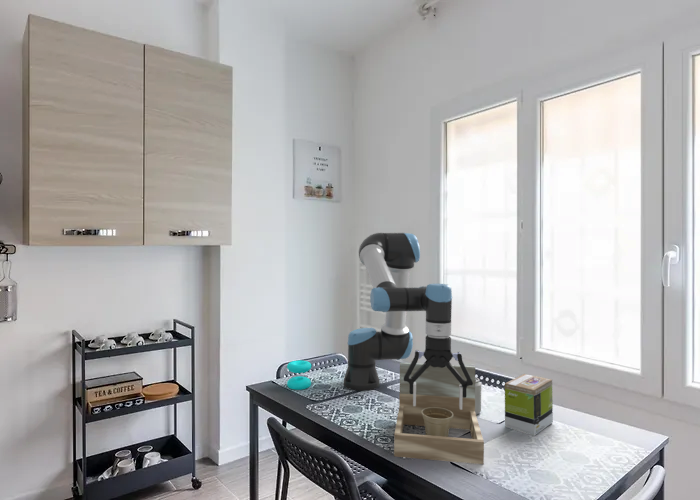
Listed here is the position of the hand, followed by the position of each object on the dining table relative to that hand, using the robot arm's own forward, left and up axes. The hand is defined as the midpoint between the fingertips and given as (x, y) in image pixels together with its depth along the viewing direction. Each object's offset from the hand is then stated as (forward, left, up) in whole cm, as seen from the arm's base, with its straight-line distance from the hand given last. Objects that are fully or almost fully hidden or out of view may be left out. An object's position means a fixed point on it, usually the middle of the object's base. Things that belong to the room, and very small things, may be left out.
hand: (437, 406), depth 132 cm
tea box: (-18, +30, -11) cm, 37 cm away
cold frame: (0, 0, -11) cm, 11 cm away
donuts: (-41, -55, -11) cm, 69 cm away
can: (-26, +12, -11) cm, 30 cm away
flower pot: (0, 0, -11) cm, 11 cm away
